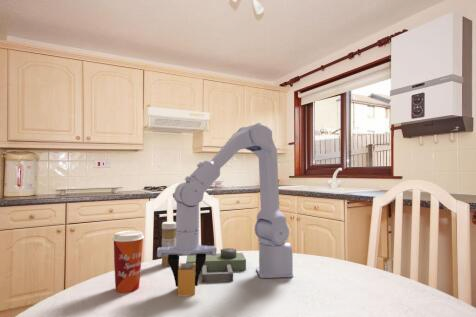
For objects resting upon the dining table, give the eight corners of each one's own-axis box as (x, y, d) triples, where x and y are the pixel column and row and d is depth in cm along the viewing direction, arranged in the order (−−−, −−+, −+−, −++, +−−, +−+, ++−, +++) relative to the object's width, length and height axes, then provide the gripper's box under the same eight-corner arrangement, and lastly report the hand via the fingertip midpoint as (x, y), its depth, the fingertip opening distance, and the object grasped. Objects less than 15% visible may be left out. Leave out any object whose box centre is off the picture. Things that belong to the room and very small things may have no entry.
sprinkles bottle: (171, 261, 97) (172, 220, 98) (178, 264, 94) (178, 222, 94) (158, 264, 94) (159, 222, 95) (165, 267, 91) (165, 223, 92)
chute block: (195, 286, 76) (195, 262, 76) (194, 295, 71) (194, 269, 71) (179, 287, 76) (179, 262, 76) (177, 295, 70) (178, 269, 70)
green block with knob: (242, 261, 97) (242, 246, 97) (250, 280, 80) (250, 261, 81) (187, 263, 95) (187, 248, 95) (184, 282, 78) (184, 263, 79)
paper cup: (119, 297, 69) (121, 237, 70) (105, 288, 74) (107, 233, 75) (149, 288, 75) (150, 232, 75) (134, 280, 80) (135, 228, 80)
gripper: (155, 233, 69) (154, 292, 68) (217, 232, 71) (216, 289, 70) (159, 228, 76) (159, 281, 75) (215, 227, 78) (215, 279, 77)
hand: (186, 284), depth 73 cm, fingers closed on chute block, 4 cm apart
